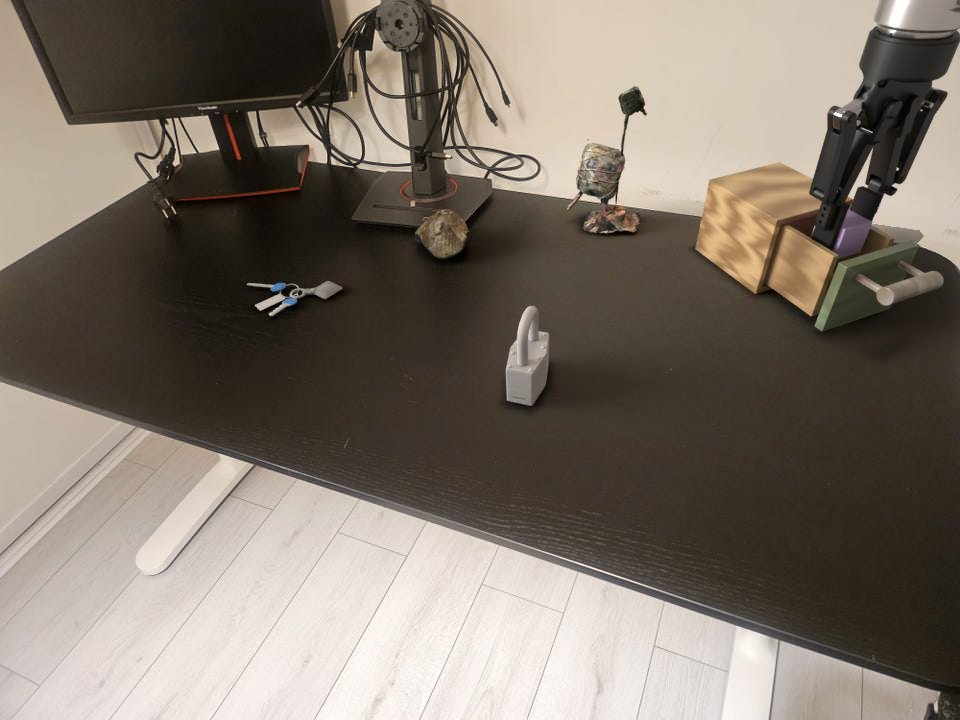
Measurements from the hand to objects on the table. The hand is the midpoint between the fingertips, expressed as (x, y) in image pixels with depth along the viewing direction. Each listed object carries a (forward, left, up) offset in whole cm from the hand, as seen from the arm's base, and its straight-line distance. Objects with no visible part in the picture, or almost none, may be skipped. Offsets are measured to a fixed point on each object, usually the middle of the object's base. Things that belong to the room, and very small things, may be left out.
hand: (835, 246), depth 73 cm
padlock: (+38, +12, -8) cm, 40 cm away
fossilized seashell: (+48, -19, -8) cm, 52 cm away
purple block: (0, 0, 0) cm, 0 cm away
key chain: (+69, -7, -8) cm, 69 cm away
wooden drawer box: (+4, -10, -8) cm, 13 cm away
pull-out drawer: (-1, +3, -7) cm, 7 cm away
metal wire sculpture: (+23, -23, -8) cm, 33 cm away
